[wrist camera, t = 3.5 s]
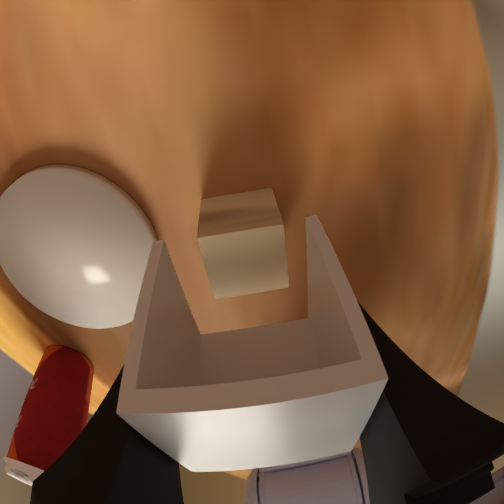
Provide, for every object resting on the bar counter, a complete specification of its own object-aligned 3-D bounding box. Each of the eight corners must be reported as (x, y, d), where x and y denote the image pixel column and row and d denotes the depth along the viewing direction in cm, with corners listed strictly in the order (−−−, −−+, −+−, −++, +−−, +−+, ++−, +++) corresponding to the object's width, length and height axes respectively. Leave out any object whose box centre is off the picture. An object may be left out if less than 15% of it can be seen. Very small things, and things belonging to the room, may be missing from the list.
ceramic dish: (160, 329, 24) (159, 339, 23) (21, 304, 21) (16, 312, 20) (169, 174, 16) (166, 181, 15) (-15, 161, 14) (-23, 168, 13)
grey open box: (316, 322, 14) (351, 451, 9) (194, 340, 14) (192, 471, 9) (316, 214, 10) (388, 378, 5) (153, 241, 10) (116, 413, 5)
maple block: (277, 244, 20) (289, 287, 17) (215, 254, 20) (214, 299, 17) (271, 187, 17) (283, 223, 14) (201, 198, 17) (196, 238, 14)
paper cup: (23, 336, 24) (-16, 462, 13) (83, 338, 24) (50, 487, 13) (59, 379, 28) (36, 489, 17) (115, 383, 29) (100, 506, 18)
